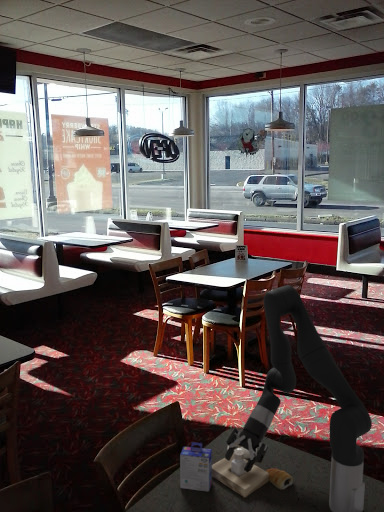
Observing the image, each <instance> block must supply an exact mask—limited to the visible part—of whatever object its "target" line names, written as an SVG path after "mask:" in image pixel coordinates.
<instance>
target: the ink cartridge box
mask: <svg viewBox="0 0 384 512" xmlns="http://www.w3.org/2000/svg"><path fill="white" fill-rule="evenodd" d="M194 446H199V447H194ZM212 452H213V449H211V448H203V443H202V442H194V441H191V446H183V447H182V450H181V452H180V456H179V461H180V462H179V465H180V466H179V469H180V471H179V472H180V473H179V475H180V477H179V478H180V480H179V481H180V484H179V487H180V489H185V490H186V489H187V490H192V491H193V490H194V491H201V492H202V491H203V492H210V490H211V488H212V487H211V486H212V484H213V477H212V465H213V457H212V456H213V453H212Z"/></svg>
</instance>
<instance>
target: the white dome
mask: <svg viewBox="0 0 384 512" xmlns="http://www.w3.org/2000/svg"><path fill="white" fill-rule="evenodd" d="M226 447H227V451H228V449H229V445H228V444H227V446H226ZM236 450H242V451H243V452H244V459H245V460H249V459H250V453H249V451H248V450H247V449H245V448H243V447H241V448H237V449H235V450H234V452H235V451H236ZM256 451H257V452H258V448H256Z"/></svg>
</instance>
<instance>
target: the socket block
mask: <svg viewBox="0 0 384 512" xmlns="http://www.w3.org/2000/svg"><path fill="white" fill-rule="evenodd" d="M233 459H235V458H234V453H233V455H232V457H231V459H230V460H229V461H228V460H227V459H225V457H224V458H221V459H220V460H219V461H217V462H215V463H212V478H214V479H215V480H217V481H218V482H221V483H222V484H223V485H225V486H226V487H228V488H230V489H231V490H233V491H234V492H236V493H237V494H238V495H240V496H242V497H243V498H246V497H248V496H249V495H251V494H252V493H253V492H255V491H256V490H258V489H260V488H261V487H263V486H264V485H265V484H267V483H268V482H270V480H269V473H268V472H266V470H264V469H263V468H261V467H259V466H257V465H255V464H254V465H253V467H252V469H251V471H249V472H247V473H245V474H243V475H242V476H240V477H239V476H237V475H235V474H234V473H232V472H231V461H232V460H233ZM244 460H245V461H246V463H247V462H248V459H244Z"/></svg>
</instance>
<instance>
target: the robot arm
mask: <svg viewBox="0 0 384 512" xmlns="http://www.w3.org/2000/svg"><path fill="white" fill-rule="evenodd" d="M263 308H264V314H265V319H266V324H267V330H268V335H269V341H270V364H271V365H272V368H271V369H269V370H268V372H267V373H266V376H265V381H264V385H263V389H262V393H261V395H260V398H259V399H258V401H257V403H256V404H255V406H254V407H253V409H252V410H251V413H250V414H249V416H248V418H247V420H246V421H245V424H244V426H243V428H242V429H243V430H242V431H240V430H239V429H237V428H235V427H234V428H233V430H232V432H231V433H230V435H229V436H228V439H227V440H226V442H225V443H226V444H227V446H228V445H229V449H228V450H227V451H226V453H225V454H224V458H225V459H227V460H228V461H229V460H230V459H231V457H232V455H233V453H234V450H235V449H237V448H241V447H243V448H245V449H247V450H248V451H249V453H250V458H248V459H247V461H248V462H247V464H246V466H245V468H244V470H245V471H246V472H249V471H251V469H252V467H253V465H255V463H259V464H261V463H263V460H264V457H265V455H266V453H267V451H268V449H269V446H268V444H265V443H262V441H263V440H264V438H265V437H266V434H267V432H268V430H269V428H270V426H271V425H272V422H273V421H274V418H275V415H276V414H277V411H278V409H279V407H280V405H281V403H282V402H281V398H280V397H279V396H277V395H276V394H275V393H274V390H275V389H276V390H278V391H280V392H283V393H285V394H291V393H292V392H293V391H294V390H295V389H296V385H297V375H296V372H295V369H294V365H293V363H292V344H291V341H290V339H289V337H288V336H287V335H286V334H285V332H284V331H283V329H282V327H281V317H284V316H287V315H291V317H292V318H293V320H294V323H295V325H296V331H297V338H296V339H297V340H296V341H297V343H296V344H297V345H296V347H297V348H296V349H297V355H298V358H299V360H300V361H301V364H302V365H303V367H304V368H305V371H306V372H307V373H308V375H309V376H310V377H311V378H312V379H313V380H314V381H316V382H317V383H318V384H319V385H321V386H322V387H324V388H325V389H326V390H327V391H328V392H330V394H331V395H332V396H333V397H334V399H335V401H336V402H337V404H338V405H339V408H338V409H336V410H335V411H333V412H332V414H331V416H330V418H329V447H330V450H331V462H330V463H331V465H330V478H329V481H330V482H329V497H328V499H329V500H328V506H329V510H330V511H331V512H363V511H364V503H365V486H366V485H365V484H366V483H365V482H364V481H363V476H364V459H365V453H364V449H363V448H362V447H361V446H360V445H359V444H357V439H358V438H360V437H362V436H364V435H366V434H367V433H369V432H370V431H371V430H372V427H373V425H372V424H373V423H372V418H371V415H370V413H369V411H368V410H367V408H366V407H365V405H364V404H363V402H362V401H361V399H360V398H359V396H358V395H357V394H356V392H355V391H354V390H353V388H352V387H351V385H350V383H349V382H348V381H347V379H346V377H345V376H344V374H343V372H342V371H341V369H340V368H339V366H338V365H337V363H336V361H335V359H334V356H333V355H332V353H331V352H330V350H329V348H328V347H327V345H326V344H325V341H323V338H322V337H321V335H320V334H319V332H318V330H317V328H316V327H315V324H314V322H313V321H312V318H311V317H310V315H309V312H308V310H307V308H306V306H305V304H304V302H303V299H302V297H301V295H300V294H299V292H298V291H297V289H296V288H295V287H294V286H293V285H289V284H287V285H283V286H280V287H277V288H274V289H270V290H269V291H267V292H266V293H265V294H264V297H263ZM238 437H239V438H238ZM256 448H257V449H258V448H259V449H258V450H257V451H256Z"/></svg>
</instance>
